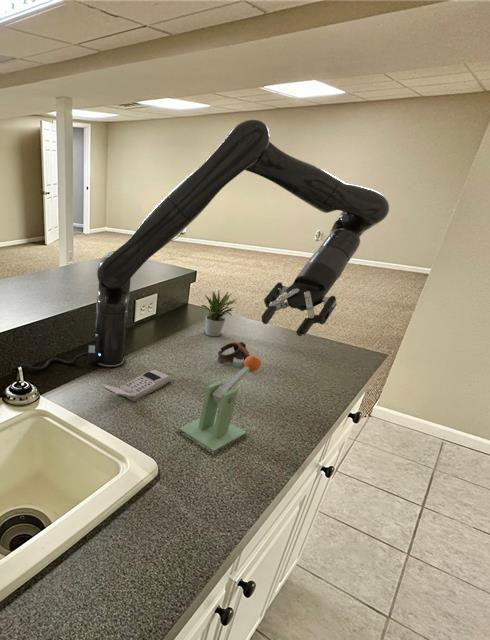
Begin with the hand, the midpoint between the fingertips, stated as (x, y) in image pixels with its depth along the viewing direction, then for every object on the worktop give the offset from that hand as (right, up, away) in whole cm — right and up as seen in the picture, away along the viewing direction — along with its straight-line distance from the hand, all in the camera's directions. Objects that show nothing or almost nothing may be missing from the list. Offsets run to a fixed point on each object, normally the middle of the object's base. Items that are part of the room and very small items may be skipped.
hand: (280, 328), depth 92 cm
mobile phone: (-30, -15, +18) cm, 38 cm away
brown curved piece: (+3, -7, +35) cm, 36 cm away
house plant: (+3, +5, +56) cm, 56 cm away
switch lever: (-10, -13, -1) cm, 16 cm away
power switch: (-15, -25, +2) cm, 29 cm away
